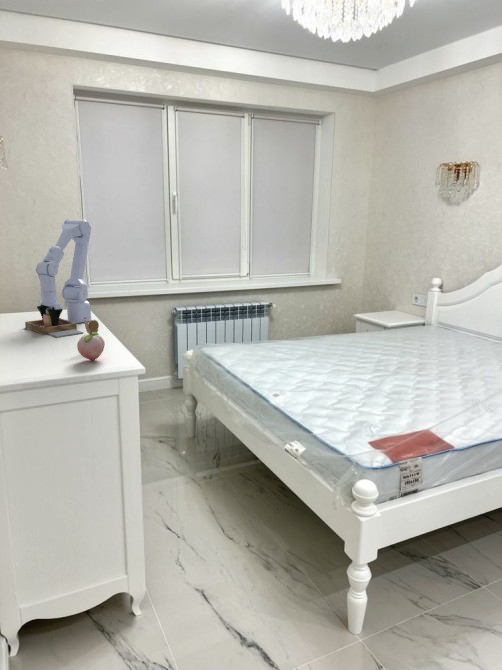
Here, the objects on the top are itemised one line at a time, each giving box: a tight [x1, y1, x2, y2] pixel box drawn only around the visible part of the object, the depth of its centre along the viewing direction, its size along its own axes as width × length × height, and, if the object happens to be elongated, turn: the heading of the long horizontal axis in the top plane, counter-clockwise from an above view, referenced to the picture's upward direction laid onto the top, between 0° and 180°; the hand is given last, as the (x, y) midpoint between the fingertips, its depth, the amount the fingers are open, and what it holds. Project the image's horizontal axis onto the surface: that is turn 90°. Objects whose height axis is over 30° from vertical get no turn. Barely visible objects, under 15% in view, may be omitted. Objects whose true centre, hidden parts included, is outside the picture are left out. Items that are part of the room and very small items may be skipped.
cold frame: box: [24, 317, 78, 335], centre depth 205 cm, size 14×16×2 cm
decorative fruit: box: [76, 331, 106, 362], centre depth 162 cm, size 9×8×10 cm
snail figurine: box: [83, 317, 100, 334], centre depth 176 cm, size 5×6×12 cm
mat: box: [47, 329, 84, 339], centre depth 197 cm, size 11×7×1 cm, turn 137°
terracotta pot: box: [43, 308, 52, 328], centre depth 205 cm, size 5×5×9 cm
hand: (50, 324), depth 205 cm, fingers open, 7 cm apart
